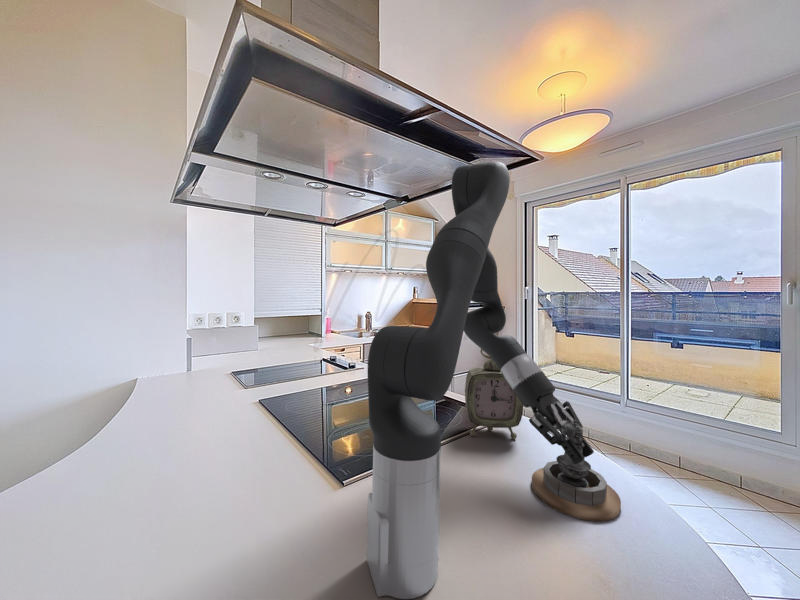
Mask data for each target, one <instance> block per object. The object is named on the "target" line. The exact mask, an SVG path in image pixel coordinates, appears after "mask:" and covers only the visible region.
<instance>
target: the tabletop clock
mask: <svg viewBox="0 0 800 600" xmlns="http://www.w3.org/2000/svg"><path fill="white" fill-rule="evenodd" d="M480 354H481V355H482V356H483V357H484V358H485V359H488V360H486V361H485V362H484V364H483V366H482V367H480V366H479V367H473V368H471V369H468V372H467V374H466V379H465V384H464V386H465V387H464V400H465V406H466V411H467V415H468V418H469V419H468V420H469V421H470V423H471V424H473V425H474V426H473V428H472V429H470V430H469V435H470V436H471V437H475V436H476V434H477V432H476V430H477V427H478V426H479V427H486V429H487V430H488V431H490V432H492V431H493V429H494V428H495V429H499V428H500V429H504V428H505V429H508V430H509V432H510V434H509V437H510V438H511V439H512V440H515V439H517V437H518V435H517V433H515V432H514V431H513V428H515V427H518V426H520V423H521V421H522V418H523V412H524V406H523V404H522V403H521V401H520V400H519V398H518V397H517V396H516V394H515V393H514V391H513V390H512V389H511V387H510V386H509V384H508V383H507V381H506V380H505V378H504V376H503V374H502V373H501V371H500V369H499V368H498V367H497V365H496V364H495V362H494V361H493V360H492V358H491V357H490V356H489V355H488V354H487V355H486V354H484V353H483V350H482V349H481V348H480Z"/></svg>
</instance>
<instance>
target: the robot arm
mask: <svg viewBox="0 0 800 600" xmlns="http://www.w3.org/2000/svg"><path fill="white" fill-rule="evenodd" d="M509 188H510V172H509V170H508V168H507V165H506V164H504V163H503V162H501V161H487V162H480V163H473V164H472V163H471V164H466V165H461V166H458V167H457V168H456V169H455V170H454V172H453V174H452V177H451V196H452V197H451V198H452V205H453V210H454V214H455V216H454V217H453V218H451V219H450V220H449V221H448V222H446V223H445V224H444V226H442V227H441V228H440V230H439V232H438V233H437V234H436V237H435V238H434V241H433V243H432V245H431V247H430V249H429V251H428V254H427V256H426V261H425V269H426V274H427V278H428V280H429V283H430V286H431V288H432V291H433V294H434V295H435V300H436V312H435V315H434V317H433V320H432V322H431V324H430V325H429V326H428V327H427V328H426V327H415V326H401V325H386V326H384V327H382V328H380V329H379V330H378V331H377V332H376V334H374V337H373V339H372V341H371V344H370V347H369V352H368V357H367V394H368V396H367V397H368V401H367V402H368V422H369V427H370V430H371V433H372V443H373V445H372V481H371V482H372V484H371V487H372V490H371V492H369V493H368V495H367V525H366V526H367V527H366V537H367V539H366V562H367V566H368V569H369V572H370V576H371V579H372V582H373V585H374V589H375V593H376V596H377V597H379V598H381V597H383V596H389V597H392V598H395V599H400V600H411V599H412V600H413V599H417V598H419V597H421V596H423V595H425V594H427V593H428V592H429V591H430V590H431V589H432V588H433V587H434V585H435V584H436V582H437V579H438V573H439V560H440V559H439V557H440V556H439V541H440V540H439V535H440V531H439V530H440V493H441V457H442V453H441V450H442V430H441V427H440V424H439V423H438V421H437V420H436V419H434V418H433V417H432V416H431V415H430V414H428V413H427V412H425V411H424V410H423V409H421V407H419V406H418V405H417V403H416V402H415V401H414V399H418V400H423V401H424V400H425V401H429V402H430V401H433V402H436V401H439V400H440V399H442V398H443V397H444V396H445V394H446V393H448V392H447V391H448V390H449V388H450V386H451V384H452V380H453V378H454V376H455V375H454V374H455V372H456V367H457V362H458V357H459V355H460V350H461V349H460V348H461V345H462V340H463V335H464V334H465V336H467V338H468V339H469V340H470V341H471V342H473V343H474V344H475V345H476V346H477V347H479V349H480V350H481V349H482V352H484V353H485V354H487V356H490V357H491V358H492V360H493V361H494V362H495V364H496V365H497V367H498V368H499V369H500V371H501V373H502V374H503V376H504V378H505V380H506V381H507V383H508V384H509V386H510V387H511V389H512V390H513V391H514V393H515V394H516V396H517V397H518V398H519V400H520V401H521V403H522V404H523V408H525V409H526V408H527V409H528V408H531V410H532V411H531V412H532V413H533V416H532V417H530V418H529V419H528V422H529V423H530V424H531V426H532V427H534V429H536V430H537V432H539V434H541V436H543V438H545V440H546V441H547V442H548V443H549V444H550V445H552V446H554V445H556V444H557V445H558V446H561V448H562V450H564V453H565V452H566V453H567V455H568V456H569V457H570V459H571V460H572V461H573V463H574V464H578V463H580V462H582V461H583V460H586V459H585V458H588V457H589V456H591V455H592V454H594V453H595V452H594V449H593V448H592V447H591V445H590V444H589V443H588V442H587V440H586V439H585V437H584V436H583V438H582V442H583V443H584V445H585V446H584V447H583V452H582V453H581V452H580V450H579V449H578V448H577V446H576V445H575V444H574V442H573V441H572V440H570V437H569V435H568V434H567V432H566V427H567V425H568V424H569V423H573V420H574V419H575V420H576V421H577V422H576V423H577V424H578V425H580V426H581V427H582V429H583V428H584V427H583V424H582V422H581V420H580V419H579V417H578V415H577V413H576V412H575V410H574V408H573V407H572V404H571V403H570V402H569V401H568V400H566V401H564V402H561V401H560V400H559V399H558V398H557V397H555V395H554V393H555V391H556V387H555V385H553V383H552V381H551V380H550V379H549V377H548V376H547V375H546V374H545V373H544V372H543V370H542V369H541V368H540V366H539V365H538V364H537V362H535V360H534V359H533V358H532V357H531V356H530V355H529V354H528V353H527V351H525V349H524V348H523V347H522V345H521V344H520V343H519V341H517V339H516V338H515V337H514V336H512V335H498V334H497V333H499V332H501V331H502V330H503V329H504V328H505V325H506V321H507V319H506V318H507V317H506V313H505V310H504V307H503V305H502V301H501V297H500V294H499V291H498V290H499V287H498V285H499V284H498V265H497V262H496V260H495V257H494V255H493V253H492V252H491V250H490V249H489V245H490V241H491V237H492V234H493V232H494V229H495V226H496V224H497V222H498V218H499V217H500V215H501V213H502V211H503V208H504V206H505V203H506V201H507V197H508V194H509V190H510V189H509ZM471 302H473V303H476V304H482V305H483V306H482V307H478V308H477V309H473V310H471V311H469V308H470V305H471ZM413 398H414V399H413ZM569 440H570V441H569Z"/></svg>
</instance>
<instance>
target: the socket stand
mask: <svg viewBox="0 0 800 600" xmlns="http://www.w3.org/2000/svg"><path fill="white" fill-rule="evenodd" d="M559 473H562V471H561V470H560V468H559V465H558V462H557V460H553V461H548V462H546V463H545V465H544V466H543V467H542V468H538V469H537V470H535V471H534V472H533V474H532V475H531V488H532V491H533V492H534V494H535V495H536V497H537V498H538V499H540V500H541V501H542V502H543V503H545V504H546V505H547V506H549V507H550V508H552V509H554V510H556V511H558V512H560V513H562V514H564V515H567V516H570V517H573V518H576V519H579V520H585V521H593V522H605V521H611V520H612V519H615V518H617V517H619V515H620V513H621V510H622V509H621V508H622V507H621V506H622V502H621V498H620V496H619V494H618V493H617V491H616V490H615V489H614V488H612V487H611V486H610V485H609V484H608V482H607V480H606V479H605V478H604V477H603V476H602V474H601V473H599V472H597V471H595V469H593V468H591V469H590V470H589V473H588V474H587V476H586V477H585V478H584V479H585V480H586V481H587V482H588V487H587V488H582V487H575V486H572V485H570V484H567V483H564V482H562V481H560V480H559V479H558V474H559Z"/></svg>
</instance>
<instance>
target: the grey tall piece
mask: <svg viewBox="0 0 800 600" xmlns="http://www.w3.org/2000/svg"><path fill="white" fill-rule="evenodd" d="M576 422H577V421H576V420H575V419H574V420H573V423H569V424H568V425H567V426H566V432H567V434H568V435H569V437H570V440H572V441H573V442H574V444H575V445H576V446H577V448H578V449H579V450H580V452H581V453H582V452H583V447H584V446H585V445H584V443H583V442H582V438H583V437H584V435H583V433H584V429H583V428H582V427H581V426H580V425H578V424H577V423H576ZM570 440H569V441H570ZM555 461H557V462H558V465H559V468H560V470H561V471H562V473H559V474H558V479H559V480H560V481H562V482H564V483H567V484H570V485H572V486H575V487H582V488H587V487H588V482H587V481H586V480H585V479H584V478H585V477H586V476H587V474H588V473H589V470H590V469H592V466H591V464H590V462H588V461H587V460H586V459H584V460H583V461H582V462H580V463H578V464H574V463H573V461H572V460H571V459H570V457H569V456H568V455H567V453H566V452H565V451H564V452H563V454H560V455H557V456H556V459H555Z"/></svg>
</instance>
